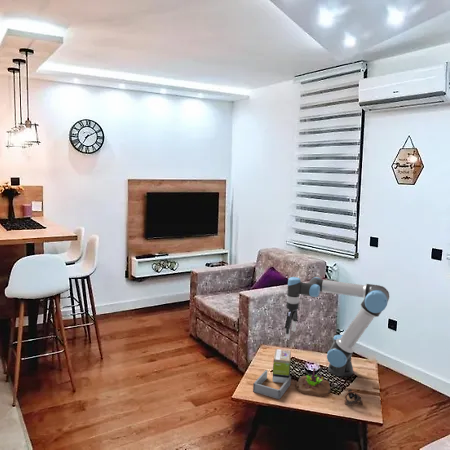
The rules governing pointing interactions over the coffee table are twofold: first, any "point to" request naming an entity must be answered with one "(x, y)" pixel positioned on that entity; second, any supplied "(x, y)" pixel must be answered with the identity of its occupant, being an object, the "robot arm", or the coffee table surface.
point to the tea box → (281, 365)
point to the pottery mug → (351, 395)
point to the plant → (313, 385)
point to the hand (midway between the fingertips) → (290, 334)
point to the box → (268, 390)
